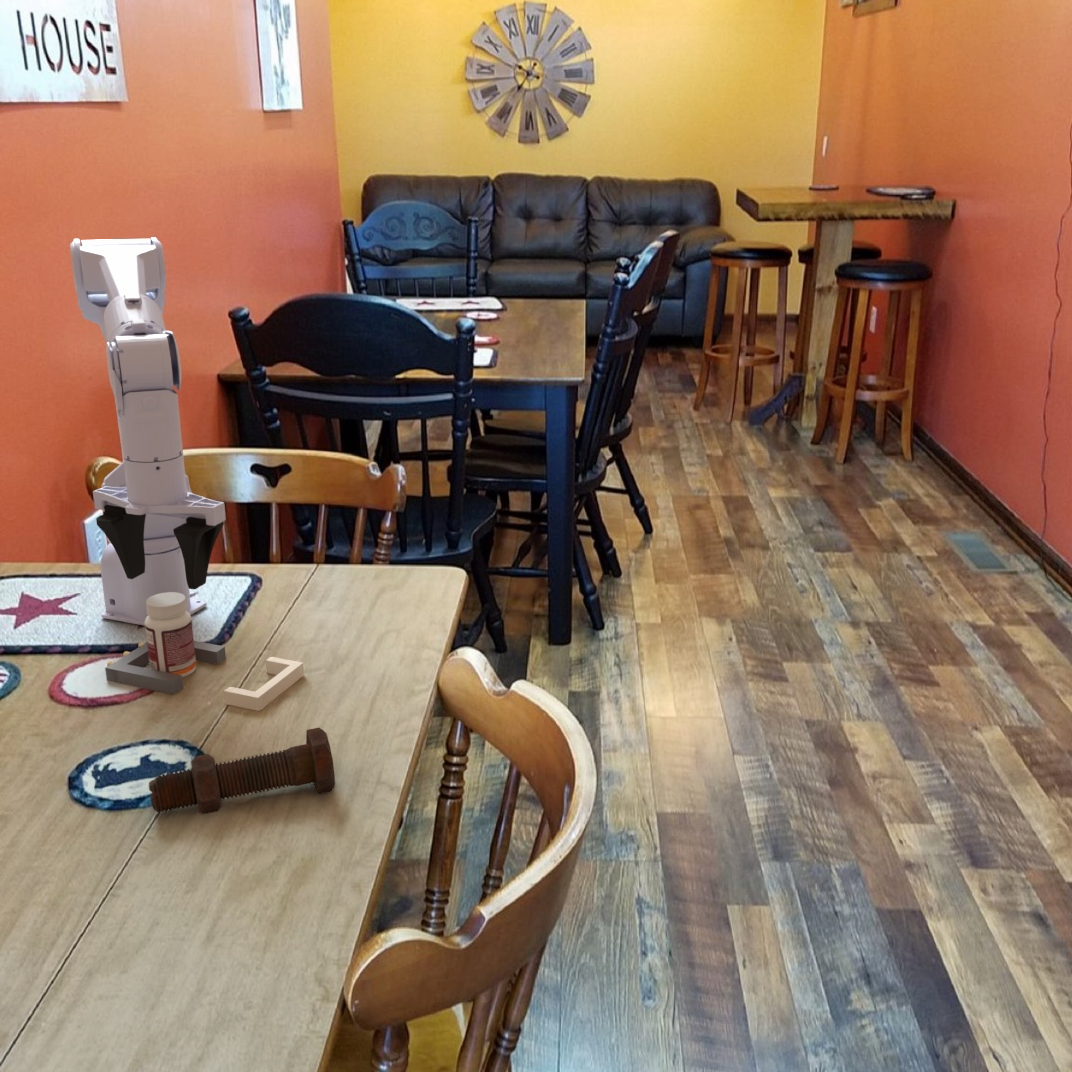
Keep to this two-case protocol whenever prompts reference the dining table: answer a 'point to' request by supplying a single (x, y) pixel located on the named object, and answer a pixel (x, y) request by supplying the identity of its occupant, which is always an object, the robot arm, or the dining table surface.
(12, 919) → the dining table surface
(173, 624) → the pill bottle
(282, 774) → the bolt
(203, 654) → the gray u-shaped bracket
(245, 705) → the bracket
